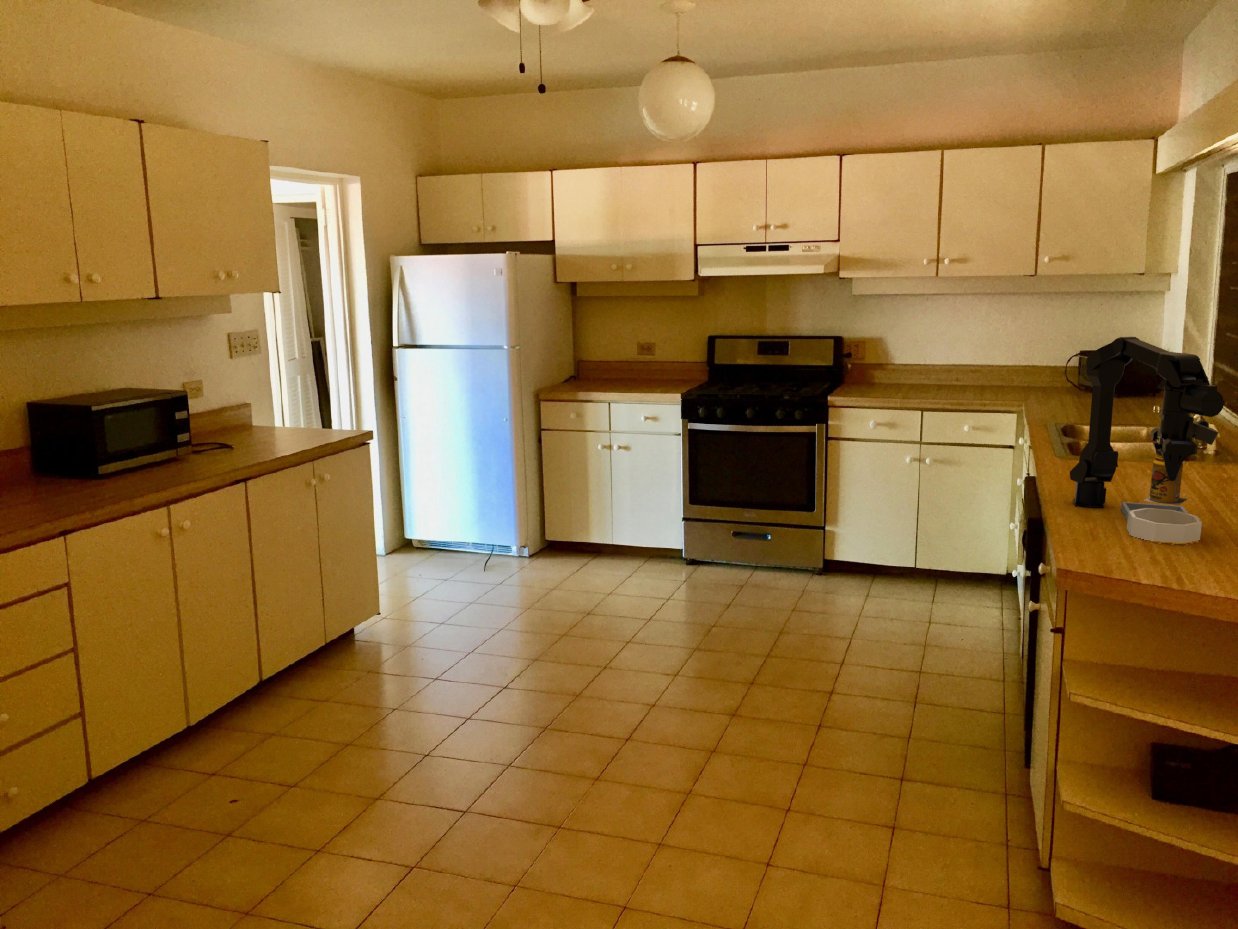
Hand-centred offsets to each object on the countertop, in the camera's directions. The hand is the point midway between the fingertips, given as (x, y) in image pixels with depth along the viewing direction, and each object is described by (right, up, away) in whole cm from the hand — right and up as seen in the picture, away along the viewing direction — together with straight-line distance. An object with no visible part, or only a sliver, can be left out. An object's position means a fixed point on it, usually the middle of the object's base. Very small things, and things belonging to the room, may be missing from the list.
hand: (1169, 477), depth 224 cm
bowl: (-1, -13, +1) cm, 13 cm away
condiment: (0, -5, +2) cm, 6 cm away
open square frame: (+5, -10, +15) cm, 19 cm away
